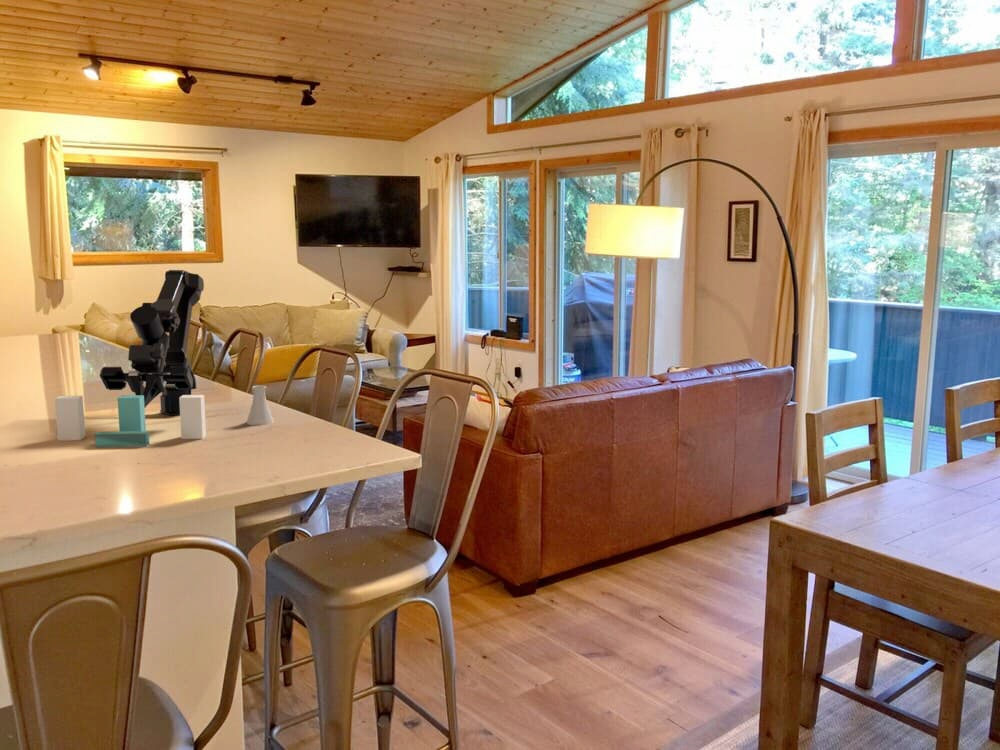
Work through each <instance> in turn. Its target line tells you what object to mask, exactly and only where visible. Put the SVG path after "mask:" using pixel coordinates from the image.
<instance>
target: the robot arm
mask: <svg viewBox="0 0 1000 750" xmlns="http://www.w3.org/2000/svg"><path fill="white" fill-rule="evenodd" d="M164 275H165V276H164V279H165V280H164V282H163V284H162V287H161V289H160V291H159V294H158V296H157V298H156V300H155V301H154V302H142V305H141V306H139V307H136V308H135V309H133V310H132V312H131V313H130V320H131V321H130V322H131V323H132V325H133V327H134V330H135V332H136V335H137V337H138V338H139V339H141V344H132V345H129V347H128V356H127V360H128V361H130V362H131V364H130V367H131V370H128V371H127V372H124V370H123V368H122V366H103V367H102V368H101V369H100V372H99V378H100V379H101V381H102V383H103V386H104V387H105V389H107V390H108V391H122V390H123V389H125V388H126V387H127V385H128V386H129V389H130V390H131V392H132V393H134V395H144V407H145V408H146V407H147V406H148V405H149V404H150V403H151V402H152V401H153V400H154V399H155V398H156V397H157V396H159V394H161V395H160V397H159V398H160V401H159V402H160V410H159V412H160V413H162V414H165V415H168V416H180V403H179V397H181V396H182V395H192V390H196V389H197V380H196V375H195V372H194V371H193V367H192V364H191V362H190V360H189V358H188V357H187V349H188V341H189V336H190V335H189V334H190V326H191V320H192V314H193V313H192V311H193V307H194V306H195V305H197V304H198V302H199V301H200V300H201V297H202V296H201V295H202V292H204V289H205V287H204V286H205V283H204V279H203V277H201V276H200V275H199V274H198V273H193V272H192V273H191V272H189V271H187V270H185V269H184V270H183V269H176V270H175V269H169V270H167V271H165V274H164Z"/></svg>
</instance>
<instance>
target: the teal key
mask: <svg viewBox="0 0 1000 750" xmlns="http://www.w3.org/2000/svg"><path fill="white" fill-rule="evenodd" d="M145 408H146V407H144V395H135V394H134V395H131V394H130V395H125V394H124V395H121V396H119V397H117V411H118V415H117V416H118V427H119V431H118V432H126V431H147V429H146V428H147V426H146V409H145Z"/></svg>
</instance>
